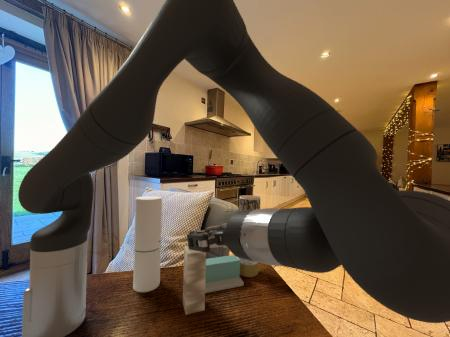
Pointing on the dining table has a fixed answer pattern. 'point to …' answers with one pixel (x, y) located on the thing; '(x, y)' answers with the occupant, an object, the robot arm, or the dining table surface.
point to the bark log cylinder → (246, 266)
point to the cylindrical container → (147, 243)
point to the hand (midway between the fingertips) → (209, 231)
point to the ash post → (194, 281)
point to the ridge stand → (222, 273)
